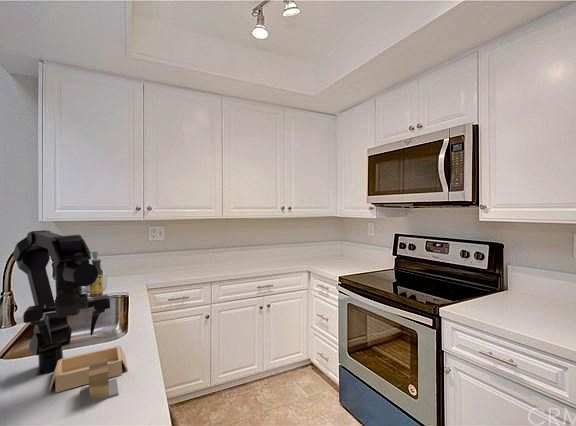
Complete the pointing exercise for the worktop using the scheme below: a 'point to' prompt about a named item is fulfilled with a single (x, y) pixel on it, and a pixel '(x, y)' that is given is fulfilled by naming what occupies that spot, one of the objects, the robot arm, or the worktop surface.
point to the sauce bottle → (97, 280)
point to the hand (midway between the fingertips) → (71, 339)
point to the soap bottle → (103, 273)
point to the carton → (86, 367)
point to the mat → (86, 398)
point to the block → (98, 379)
